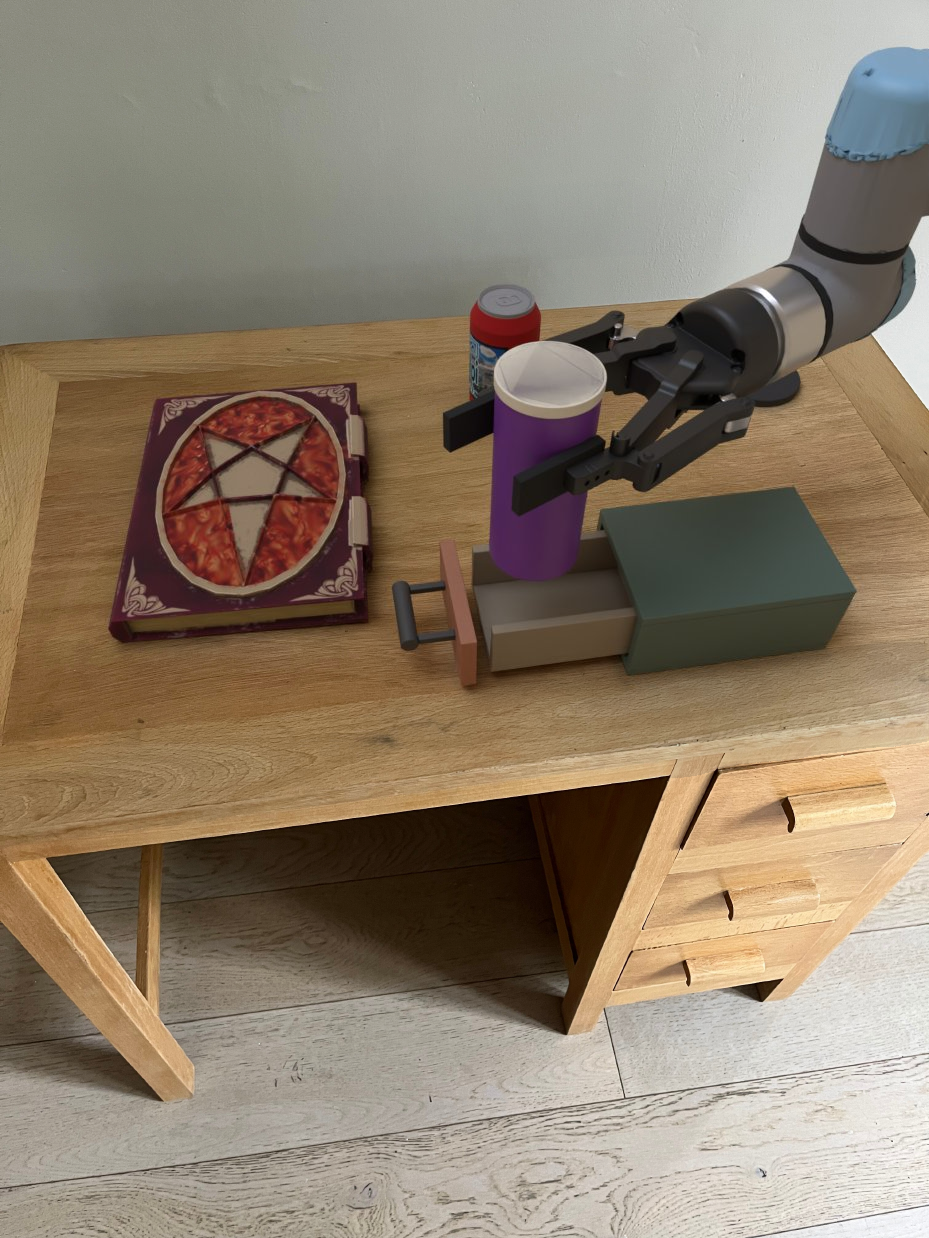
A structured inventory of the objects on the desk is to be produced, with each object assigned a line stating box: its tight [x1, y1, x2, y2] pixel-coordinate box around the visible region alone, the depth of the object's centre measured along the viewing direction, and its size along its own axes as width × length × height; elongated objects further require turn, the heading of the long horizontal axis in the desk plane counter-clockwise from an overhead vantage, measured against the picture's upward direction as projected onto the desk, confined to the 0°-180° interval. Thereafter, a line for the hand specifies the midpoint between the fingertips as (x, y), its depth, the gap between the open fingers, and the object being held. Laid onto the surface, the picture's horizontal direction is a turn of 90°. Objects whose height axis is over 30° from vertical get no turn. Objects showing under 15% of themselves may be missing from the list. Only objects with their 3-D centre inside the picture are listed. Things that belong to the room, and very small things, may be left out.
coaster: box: [746, 370, 801, 408], centre depth 91 cm, size 9×9×1 cm
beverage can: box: [468, 283, 542, 401], centre depth 84 cm, size 7×7×12 cm
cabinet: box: [595, 486, 858, 676], centre depth 69 cm, size 17×12×7 cm
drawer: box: [391, 530, 638, 686], centre depth 67 cm, size 20×10×5 cm, turn 100°
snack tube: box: [488, 340, 607, 581], centre depth 57 cm, size 7×7×15 cm
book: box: [107, 381, 374, 643], centre depth 77 cm, size 28×21×5 cm
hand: (480, 463), depth 53 cm, fingers closed on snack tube, 6 cm apart
